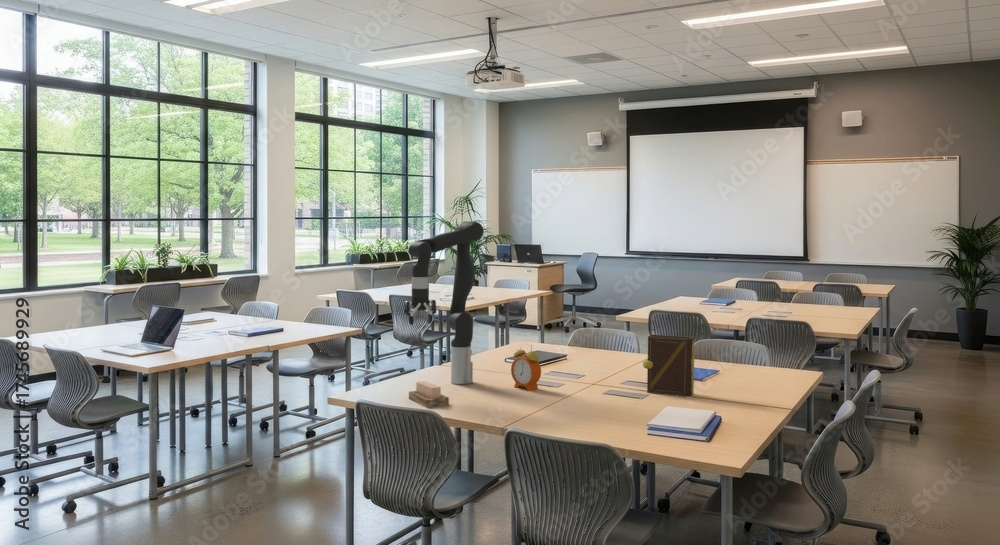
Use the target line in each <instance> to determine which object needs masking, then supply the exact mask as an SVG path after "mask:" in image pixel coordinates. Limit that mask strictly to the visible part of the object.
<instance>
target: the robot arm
mask: <svg viewBox="0 0 1000 545" xmlns="http://www.w3.org/2000/svg"><path fill="white" fill-rule="evenodd" d="M483 235H484V228H483V225H482V224H481V223H480V222H477V221H467V220H466V221H465V220H464V221H461V222H460V223H459V225H458V227H457V230H454V231H450V232H444V233H440V234H437V235H433V236H431V237H429V238H423V239H419V240H416V241H413V242H411V243H410V245H409V246H408V248H407V249H408V253H409V255H410V256H411V257H412V258H416V259H417V261H416V263H414V264H412V268H411V301H410V300H409V301H408V300H405V301H404V311H403V314H404V315H406V316H408V323H409V325H411V326H413V325H414V314H415V313H417V311H418V312H419V311H425V312H426V313H427V324H432V322H433V315H434V314H437V301H436V299H430V281H429V280H430V279H429V267H430V266H429V265H430V263H431V259H432V253H433V254H434V253H438V252H440V251H443V250H447V249H448V248H452V247H455V246H456V259H455V268H454V274H453V275H454V277H453V278H454V279H453V288H452V298H451V304H450V308H449V312H448V313H449V314H448V321H447V322H448V326H449V328H450V329H451V330H453V331H455V332H454V338H452V339H451V341H450V356H451V357H450V365H451V366H450V370H451V371H450V373H451V374H450V376H451V377H450V379H451V380H450V382H451V384H452V385H453V384H454V385H468V384H471V383H473V382H474V381H473V379H474V377H473V375H474V372H473V370H474V369H473V368H474V363H473V362H472V341H473V338H474V335H473V333H474V321H473V320H474V318H473V317H472V315H471V314H470V313H468V312H466V304H467V300H468V297H469V295H470V293H471V291H472V289H473V286H474V282H475V281H474V280H475V274H476V273H475V271H476V269H475V266H474V263H473V260H472V257H471V254H470V253H471V252H470V245H471V244H470V243H471V242H477V241H480V240H481V239H482V237H483ZM411 306H412V307H411ZM429 306H431V308H430V307H429ZM410 307H411V309H410Z"/></svg>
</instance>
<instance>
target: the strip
mask: <svg viewBox="0 0 1000 545" xmlns="http://www.w3.org/2000/svg"><path fill="white" fill-rule="evenodd" d="M415 385H416V386H415V388H416V390H415V391H416V393H417V394H419V395H421V396H423V397H425V398H427V399H436V398H441V394H442V393H441V392H442V390H441V386H438V385H436V384H433V383H431V382H429V381H426V380H424V381H423V380H422V381H416V383H415Z"/></svg>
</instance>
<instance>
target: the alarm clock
mask: <svg viewBox="0 0 1000 545" xmlns="http://www.w3.org/2000/svg"><path fill="white" fill-rule="evenodd" d="M526 345H529V344H526ZM532 348H533V346H532V345H531V344H530V349H531V350H530V351H528V352H527V353H526V351H525V350H524V349H522V348H520V349H517V350H516V351H515V352H514V353H513V358H514V360H513V361H512V363H511V366H510V367H511V368H510V373H511V374H510V375H511V378H512V380H513V381H514V382H515V383H514V386H513V388H514V389H519V388H523V387H525V388H526V391H531V392H532V391H534V390H535V391H536V390H539V386H538V384H537V383H538V382H539V381H540V380H541V379H540V378H541V376H542V367H541V365H540V362H539V359H540V357H539V354H538V353H537V352H536V351H533V349H532Z"/></svg>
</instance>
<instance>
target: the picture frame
mask: <svg viewBox="0 0 1000 545" xmlns="http://www.w3.org/2000/svg"><path fill="white" fill-rule="evenodd" d="M408 399H409V400H411V401H413V402H415V403H416V404H419V405H420V406H422V407H425V408H426V409H427V407H428V408H433V407H443V406H448V405H449V402H450V401H449V400H450V398H449V397H448V396H446V395H444V394H442V393H441V398H436V399H427V398H425V397H423V396H421V395H419V394H417V393H416V390H412V391H408Z"/></svg>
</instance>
